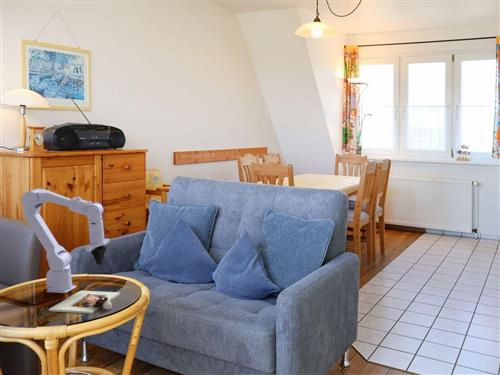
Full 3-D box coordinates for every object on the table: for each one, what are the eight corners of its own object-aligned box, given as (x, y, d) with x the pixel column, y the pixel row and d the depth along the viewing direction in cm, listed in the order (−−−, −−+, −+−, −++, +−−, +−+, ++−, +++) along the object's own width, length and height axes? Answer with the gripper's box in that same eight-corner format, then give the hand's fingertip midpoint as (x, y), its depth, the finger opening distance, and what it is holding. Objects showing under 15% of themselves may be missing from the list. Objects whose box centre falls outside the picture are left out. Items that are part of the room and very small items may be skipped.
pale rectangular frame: (49, 311, 184) (48, 308, 183) (81, 292, 203) (81, 290, 202) (91, 313, 179) (91, 311, 178) (119, 294, 198) (119, 292, 198)
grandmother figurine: (81, 307, 186) (104, 317, 179) (78, 299, 184) (101, 309, 177) (96, 295, 191) (119, 304, 185) (94, 287, 189) (117, 296, 183)
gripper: (95, 236, 195) (98, 269, 197) (114, 228, 209) (117, 259, 211) (79, 236, 197) (83, 269, 199) (99, 228, 211) (102, 259, 213)
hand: (99, 264), depth 205 cm, fingers closed
